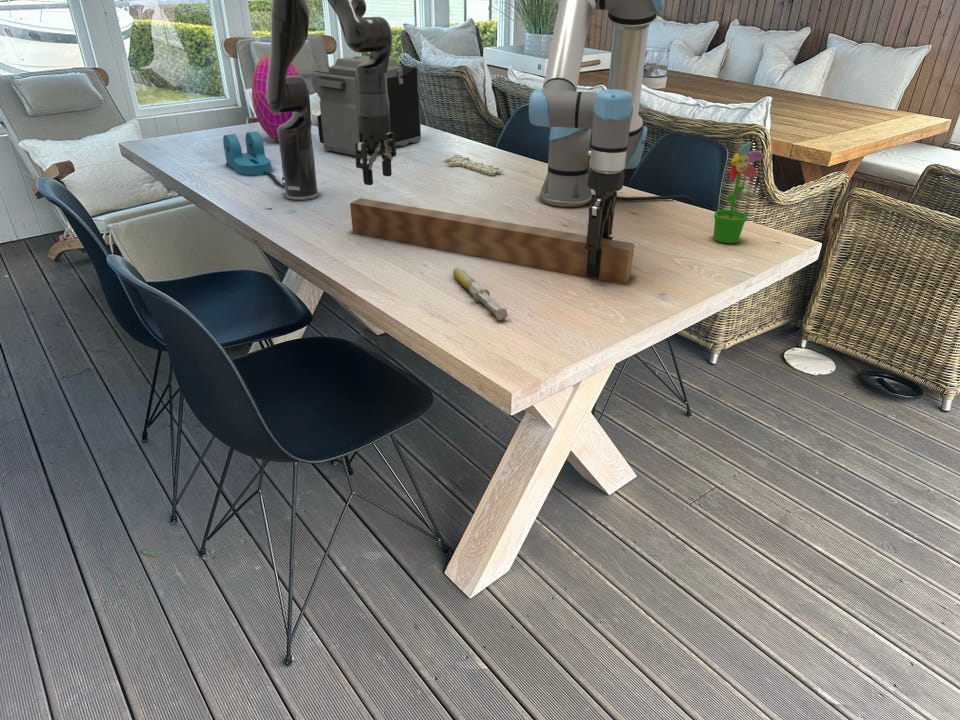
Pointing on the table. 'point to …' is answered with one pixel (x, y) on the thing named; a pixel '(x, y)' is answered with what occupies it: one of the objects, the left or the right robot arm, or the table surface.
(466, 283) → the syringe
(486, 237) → the bar
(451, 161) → the decorative sign
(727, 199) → the potted flower
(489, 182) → the table surface
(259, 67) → the decorative egg
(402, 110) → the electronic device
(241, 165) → the camera mount
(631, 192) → the table surface
